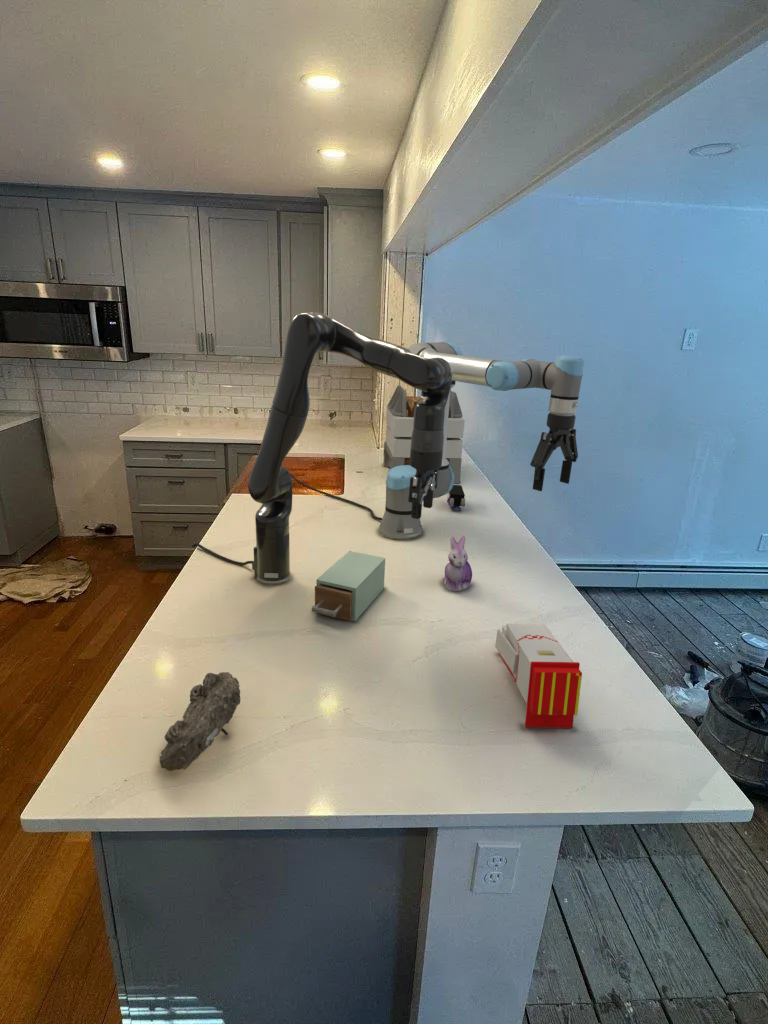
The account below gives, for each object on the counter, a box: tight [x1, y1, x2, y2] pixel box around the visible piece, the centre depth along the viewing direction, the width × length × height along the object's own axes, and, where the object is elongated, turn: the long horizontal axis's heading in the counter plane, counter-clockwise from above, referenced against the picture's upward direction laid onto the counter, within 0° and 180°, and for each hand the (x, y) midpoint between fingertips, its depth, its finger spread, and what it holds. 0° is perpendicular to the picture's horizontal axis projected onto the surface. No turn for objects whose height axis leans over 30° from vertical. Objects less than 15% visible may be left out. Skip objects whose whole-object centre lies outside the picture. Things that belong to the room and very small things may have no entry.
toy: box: [494, 623, 583, 729], centre depth 120 cm, size 12×13×30 cm
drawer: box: [311, 584, 352, 622], centre depth 148 cm, size 24×10×7 cm, turn 159°
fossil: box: [159, 671, 241, 772], centre depth 102 cm, size 22×10×15 cm
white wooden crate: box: [383, 384, 465, 484], centre depth 268 cm, size 34×33×41 cm
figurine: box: [443, 534, 473, 592], centre depth 162 cm, size 9×10×15 cm
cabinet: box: [316, 550, 386, 622], centre depth 152 cm, size 20×11×9 cm, turn 159°
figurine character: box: [446, 484, 466, 511], centre depth 229 cm, size 7×8×15 cm
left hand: (421, 512), depth 137 cm, fingers open, 8 cm apart
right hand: (551, 486), depth 165 cm, fingers open, 13 cm apart
